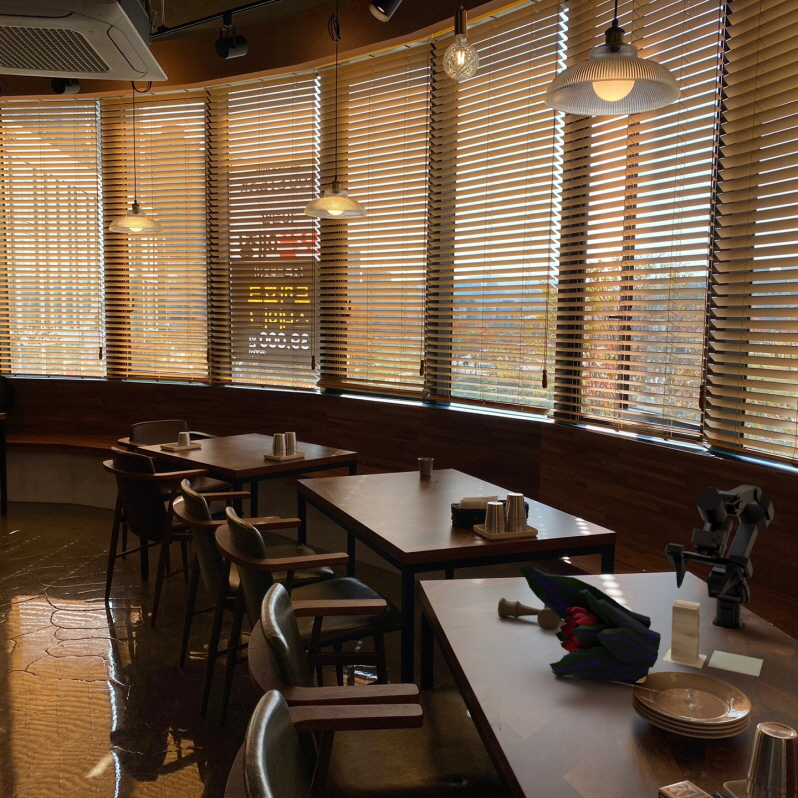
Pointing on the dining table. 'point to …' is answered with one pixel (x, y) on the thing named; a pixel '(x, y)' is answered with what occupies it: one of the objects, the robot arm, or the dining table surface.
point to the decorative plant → (595, 630)
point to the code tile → (698, 663)
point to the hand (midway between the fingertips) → (698, 591)
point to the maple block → (685, 631)
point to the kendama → (529, 613)
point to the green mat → (736, 663)
